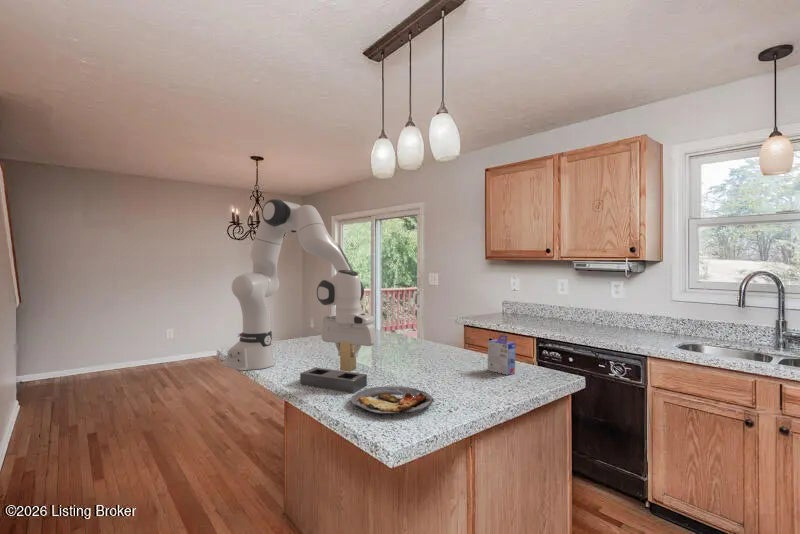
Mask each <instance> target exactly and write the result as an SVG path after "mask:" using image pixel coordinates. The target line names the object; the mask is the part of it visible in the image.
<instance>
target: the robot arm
mask: <svg viewBox="0 0 800 534" xmlns="http://www.w3.org/2000/svg"><path fill="white" fill-rule="evenodd" d="M261 217H262V218H261V220H260V222H259V224H258V226H257V229H256V232H255V235H254V238H253V243H252V247H251V251H250V259H251V261H252V272H245V273H242V274H241V275H238V276H236V277H235V278H234V279H233V280H232V283H231V292H232V294H233V295H234V296H235V298H236V299H237V300H238V302H239V307H240V309H241V312H242V313H241V315H242V332H241V333H237V338H239V341H237V343H235V344H234V345H233V346H232V347H230V348H229V349H228V351H227V353H226V360H223V361H221V362H220V366H221V367H225V368H230V369H233V370H236V371H240V372H241V371H248V370H249V371H250V370H251V371H252V370H261V369H266V368H271V367H272V366H274V365H275V364H276V363H275V359H274V356H273V355H274V354H273V347H272V340H273V332H272V329H271V327H272V326H271V323H272V321H271V318H272V317H271V316H272V314H271V311H270V310H269V309H268V307H267V304H266V300H265V299H266V298H268V297H271V296H272V295H273V296H274V294H276V293H277V292H278V290H279V288H280V280H279V278H278V261H279V258H280V252H281V250H282V245H283V241H284V236H285V234H286V233H287V232H288V231H290V232H291V233H296V235H297V238H298V242H299V244H300V246H301V247H302V249H303V250H304V251H305V252H306V253H308V254H310V255H312V256H316V257H320V258H321V259H324V260H326V261H328V262H329V263H331V264H332V266H333V268H334V269H335V271H336V273H335V274H334V275H333V276H330V277H329V278H327V279H323V280H321V281H320V282H319V283H318V285H317V288H316V297H317V300H318V302H320V304H321V305H323V306H328V307H330V306H335V309H334V310H335V311H334V312H335V314H334V315H326V316H324V317H323V318H322V330H321V340H322V341H323V342H324V343H325V342H326V343H334V344H335V347H336V350H337V351H338V353H337V354H338V355H337V356H339V357H340V342H350V344H352V345H354V348H356V349H355V351H354V352H352V357H354V358H356V359H357V358H358V357H359V351H360V349H361V348H362V346H363V347H364V346H365V347H372V346H374V345H375V344H376V342H377V332H376V331H377V330H376V326H375V325H374V323H373V322H374V321H375V318H374V316H373V315H371V314H368V313H366V312H364V311H362V306H361V301H362V299H363V297H364V295H365V287H364V284H363V282H362V281H361V278H360V274H359V273H358V271H354V269H353V268H352V266H351V264H350V262H349V260H348V258H347V256H346V254H345V253H344V251H343V249H342V248H341V246H340V245H339V244H338V243H337V242H336V241H335V240H334V239H333V238H332V236H331V235H330V233H329V232H328V229H327V228H326V225H325V223H324V220H323V218H322V217H321V214H320V213H319V211H318V210H317V208H316V207H315V206H313V205H311V204H304V205H303V204H302V205H301V204H298V203H295V202H290V201H285V200H281V199H279V198H278V199H277V198H275V199H274V198H273V199H269V200H267V201H266V202H265V204H263V207H262V211H261Z"/></svg>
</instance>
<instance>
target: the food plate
mask: <svg viewBox="0 0 800 534" xmlns="http://www.w3.org/2000/svg"><path fill="white" fill-rule="evenodd" d="M398 395H400V396H401V395H403V396H402V397H399V396H398ZM413 396H414V397H413ZM350 401H351V404H352V405H354V406H358V407H360V408H362V409H363V410H367V411H369V412H372V413H376V414H381V415H402V414H404V415H405V414H411V413H414V412H417V411H420V410H423V409H427V408H429V407H430V406H432V403H433V402H434V401H435V400H434V398H433V396H432V395H431V394H429V393H428V392H426V391H424V390H420V389H417V388H412V387H409V386H403V385H402V386H397V385H395V386H389V385H387V386H386V385H384V386H375V387H371V388H366V389H364V390H359V391H357V392H356V393H354V394H353V395H352V397H351V399H350Z"/></svg>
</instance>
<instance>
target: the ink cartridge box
mask: <svg viewBox="0 0 800 534" xmlns="http://www.w3.org/2000/svg"><path fill="white" fill-rule="evenodd" d="M507 340H508V335H505V334H504V335H503V334H499V337H498V339H491V340H488V341H487V342H488V343H487V345H488V346H487V371H489V372H494V373H497V372H498V374H501V373H502V375H505V374H506V375H505V376H509V375H508V374H510V375H512V374H511V373H515V374H516V346H517V345H516V342H514V341H513V342H512V341H507Z"/></svg>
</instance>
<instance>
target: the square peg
mask: <svg viewBox="0 0 800 534" xmlns="http://www.w3.org/2000/svg"><path fill="white" fill-rule="evenodd" d="M355 349H356V348H354V345H352V344H350V342H340V356H339V360H340V361H339V366H340V367H339V371H346V372H353V371H354V370H356V369H357V357H356V358H354V357H352V352H354V351H355Z"/></svg>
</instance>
